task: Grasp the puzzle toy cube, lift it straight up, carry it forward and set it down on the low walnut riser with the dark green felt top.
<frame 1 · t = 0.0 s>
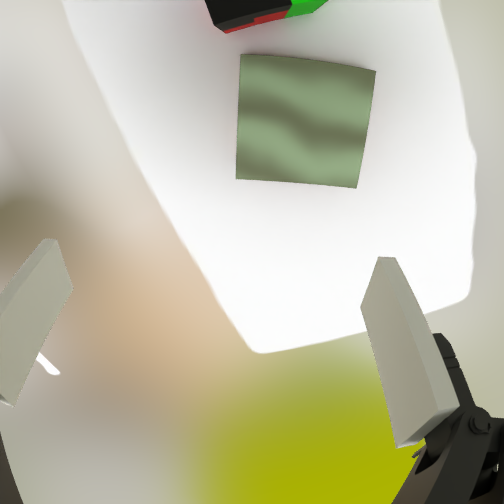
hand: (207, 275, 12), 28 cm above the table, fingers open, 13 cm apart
riser: (299, 115, 34), on the table
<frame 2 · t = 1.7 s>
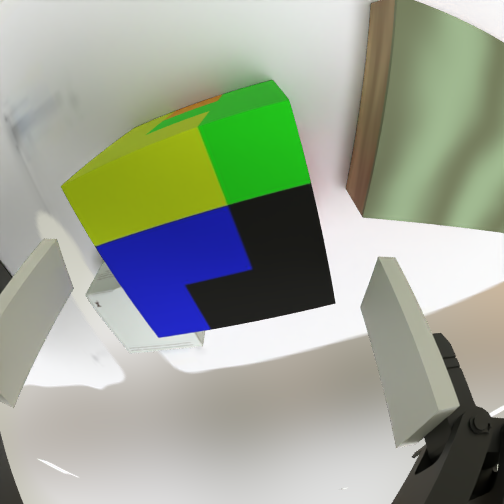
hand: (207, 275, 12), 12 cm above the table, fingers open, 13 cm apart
riser: (444, 117, 18), on the table
puzzle toy: (223, 166, 22), on the table
small box: (157, 281, 28), on the table
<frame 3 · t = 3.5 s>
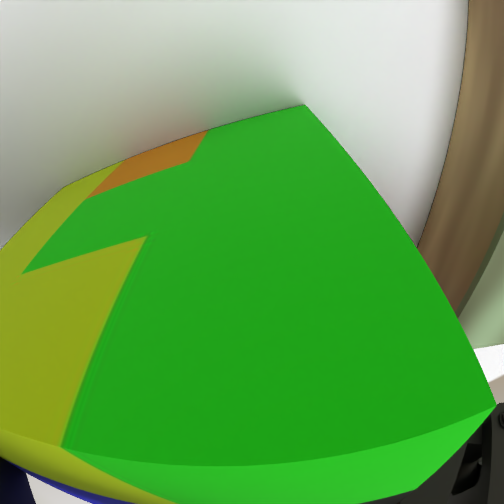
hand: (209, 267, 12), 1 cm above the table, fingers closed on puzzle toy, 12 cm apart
puzzle toy: (212, 253, 13), on the table, touching gripper
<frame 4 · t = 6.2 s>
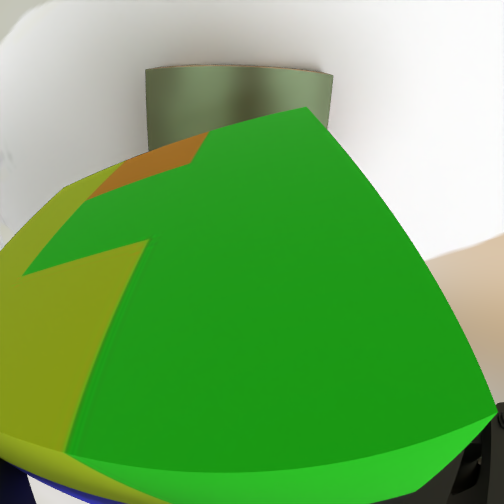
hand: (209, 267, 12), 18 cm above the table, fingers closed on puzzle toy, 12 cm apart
riser: (237, 139, 27), on the table
puzzle toy: (212, 254, 13), point 17 cm above the table, touching gripper
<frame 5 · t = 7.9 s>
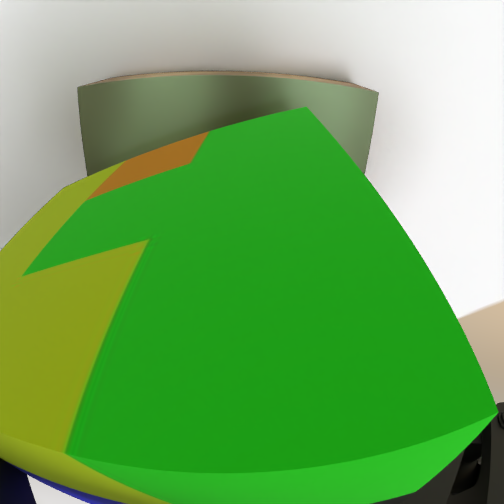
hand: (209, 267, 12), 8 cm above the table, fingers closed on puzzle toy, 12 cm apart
riser: (225, 182, 19), on the table
puzzle toy: (212, 254, 13), point 8 cm above the table, touching gripper
when the fingers open (6 cm above the table, at t = 9.5 s): puzzle toy drops 1 cm, resting on riser.
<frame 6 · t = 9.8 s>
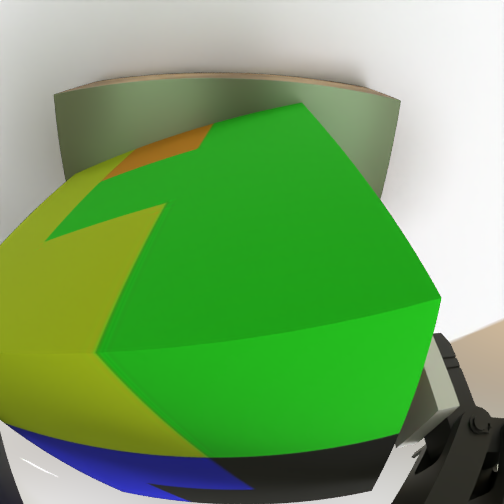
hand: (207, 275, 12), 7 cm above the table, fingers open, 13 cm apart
riser: (224, 198, 18), on the table
puzzle toy: (213, 238, 14), point 4 cm above the table, touching riser
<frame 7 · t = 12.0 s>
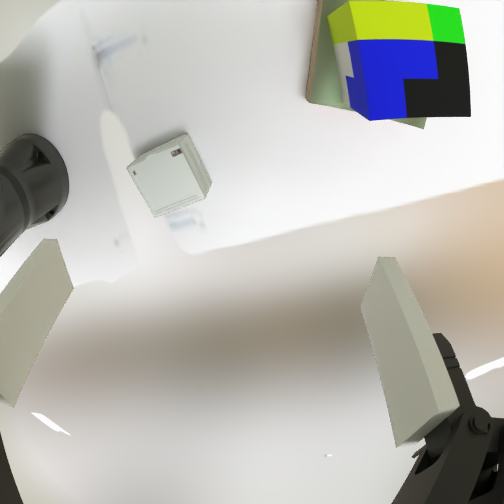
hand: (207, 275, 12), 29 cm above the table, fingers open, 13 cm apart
riser: (369, 56, 30), on the table
puzzle toy: (379, 56, 27), point 4 cm above the table, touching riser
small box: (176, 167, 41), on the table
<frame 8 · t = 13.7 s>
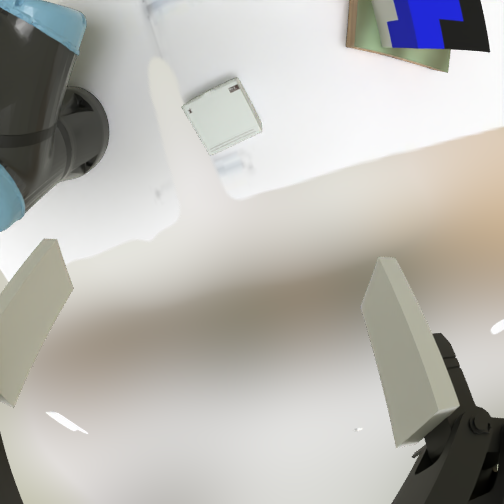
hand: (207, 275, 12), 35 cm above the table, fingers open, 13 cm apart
riser: (396, 14, 30), on the table
puzzle toy: (407, 11, 27), point 4 cm above the table, touching riser
small box: (225, 111, 41), on the table
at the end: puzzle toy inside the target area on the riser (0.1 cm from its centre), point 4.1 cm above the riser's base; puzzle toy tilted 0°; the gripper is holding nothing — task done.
